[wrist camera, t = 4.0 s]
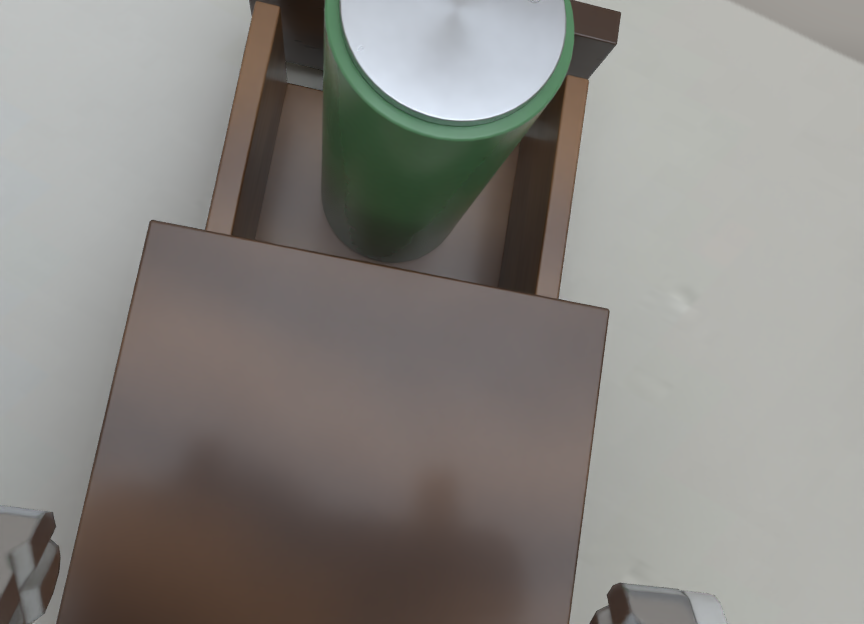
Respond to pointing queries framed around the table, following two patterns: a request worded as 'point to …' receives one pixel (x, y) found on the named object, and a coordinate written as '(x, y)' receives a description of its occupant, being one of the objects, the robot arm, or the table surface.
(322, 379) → the cabinet
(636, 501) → the table surface
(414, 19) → the green can
